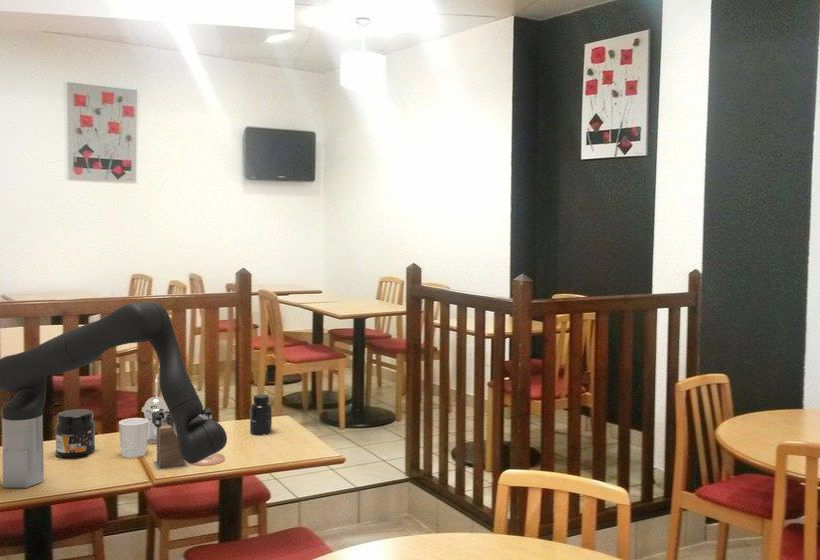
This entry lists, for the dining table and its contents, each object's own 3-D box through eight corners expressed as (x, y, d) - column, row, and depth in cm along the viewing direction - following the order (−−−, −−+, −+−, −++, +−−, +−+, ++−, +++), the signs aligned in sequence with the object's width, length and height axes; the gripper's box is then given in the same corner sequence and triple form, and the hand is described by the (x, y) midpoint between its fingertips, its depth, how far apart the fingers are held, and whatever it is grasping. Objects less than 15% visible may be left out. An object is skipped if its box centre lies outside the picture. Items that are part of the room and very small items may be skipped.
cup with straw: (136, 443, 234) (135, 378, 233) (152, 436, 243) (151, 373, 242) (161, 446, 232) (161, 380, 231) (176, 438, 241) (176, 374, 240)
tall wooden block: (184, 465, 213) (184, 426, 212) (160, 468, 210) (160, 428, 209) (180, 459, 219) (180, 420, 218) (156, 461, 216) (156, 423, 215)
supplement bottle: (246, 434, 246) (246, 397, 246) (254, 429, 253) (254, 393, 252) (267, 436, 245) (267, 398, 245) (274, 430, 252) (274, 394, 251)
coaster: (187, 467, 212) (187, 466, 212) (157, 471, 209) (157, 469, 209) (182, 459, 220) (182, 458, 220) (153, 462, 216) (153, 461, 216)
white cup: (138, 460, 218) (138, 425, 217) (113, 458, 220) (113, 423, 219) (153, 452, 226) (153, 418, 225) (129, 450, 227) (128, 417, 227)
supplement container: (51, 460, 217) (50, 418, 216) (60, 449, 227) (59, 409, 227) (91, 458, 219) (91, 416, 218) (98, 447, 230) (98, 408, 229)
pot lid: (220, 467, 213) (220, 460, 213) (183, 466, 213) (183, 459, 213) (228, 456, 223) (228, 449, 223) (193, 456, 223) (193, 449, 223)
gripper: (218, 407, 191) (204, 394, 206) (158, 412, 185) (149, 399, 200) (218, 437, 192) (205, 422, 206) (158, 443, 186) (149, 427, 200)
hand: (177, 410), depth 203 cm, fingers open, 8 cm apart
